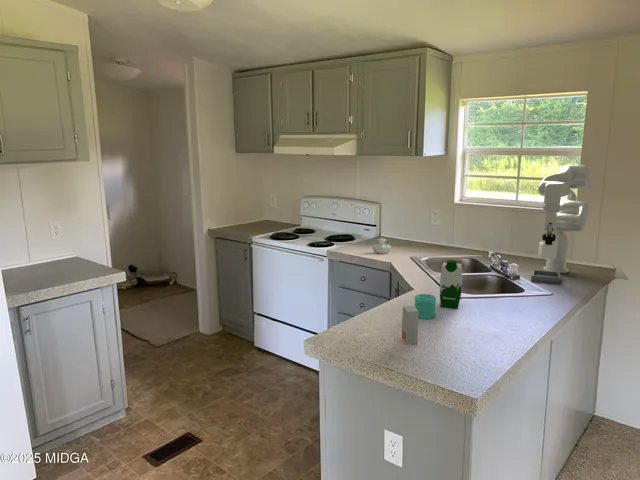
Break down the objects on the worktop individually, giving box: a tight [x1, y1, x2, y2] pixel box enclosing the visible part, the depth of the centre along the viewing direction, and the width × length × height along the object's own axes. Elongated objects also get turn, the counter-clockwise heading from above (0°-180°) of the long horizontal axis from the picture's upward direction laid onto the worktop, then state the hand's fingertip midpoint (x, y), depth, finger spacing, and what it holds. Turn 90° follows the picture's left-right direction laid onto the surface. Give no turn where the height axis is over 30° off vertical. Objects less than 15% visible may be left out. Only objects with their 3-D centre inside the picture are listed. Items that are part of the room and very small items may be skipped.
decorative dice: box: [414, 293, 437, 320], centre depth 194 cm, size 8×8×8 cm
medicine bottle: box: [537, 232, 558, 260], centre depth 244 cm, size 7×7×12 cm
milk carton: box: [439, 259, 463, 310], centre depth 205 cm, size 9×9×20 cm
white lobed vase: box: [372, 237, 392, 255], centre depth 307 cm, size 12×8×11 cm
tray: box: [530, 269, 561, 285], centre depth 247 cm, size 13×13×3 cm
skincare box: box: [401, 305, 419, 345], centre depth 168 cm, size 6×4×12 cm
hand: (548, 242), depth 243 cm, fingers closed on medicine bottle, 7 cm apart
